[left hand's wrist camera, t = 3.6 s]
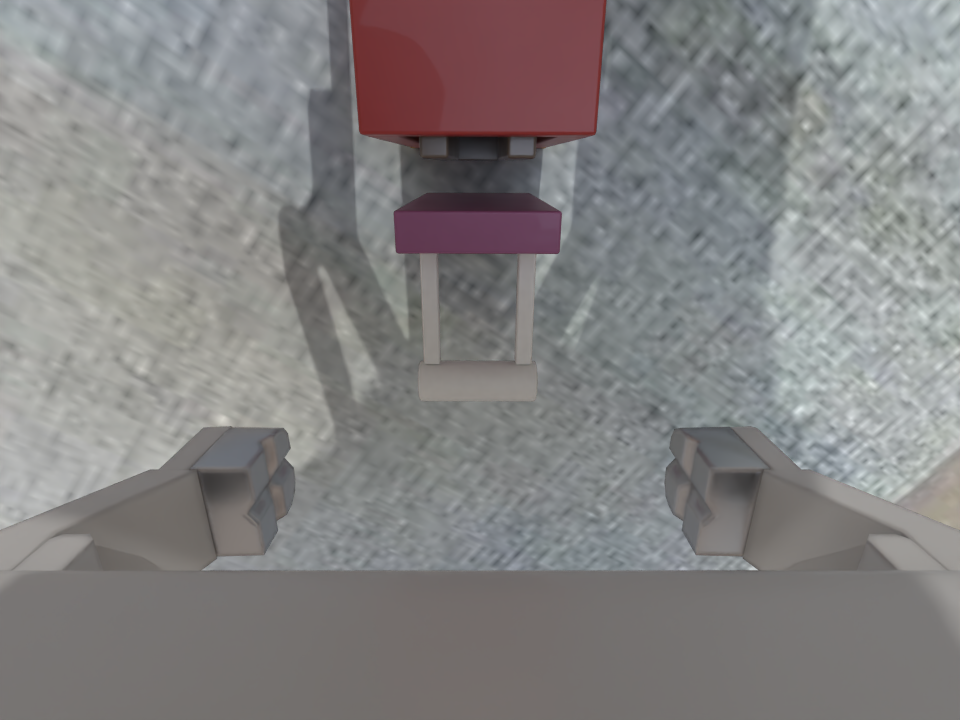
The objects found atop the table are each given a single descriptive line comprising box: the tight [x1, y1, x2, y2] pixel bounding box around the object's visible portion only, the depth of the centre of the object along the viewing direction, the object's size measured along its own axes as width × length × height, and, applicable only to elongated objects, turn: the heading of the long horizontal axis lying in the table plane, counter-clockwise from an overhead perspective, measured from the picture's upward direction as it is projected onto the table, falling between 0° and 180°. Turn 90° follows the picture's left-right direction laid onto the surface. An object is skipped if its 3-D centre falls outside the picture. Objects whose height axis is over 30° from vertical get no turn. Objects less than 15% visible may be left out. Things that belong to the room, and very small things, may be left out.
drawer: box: [394, 136, 562, 401], centre depth 17 cm, size 25×5×10 cm, turn 0°
